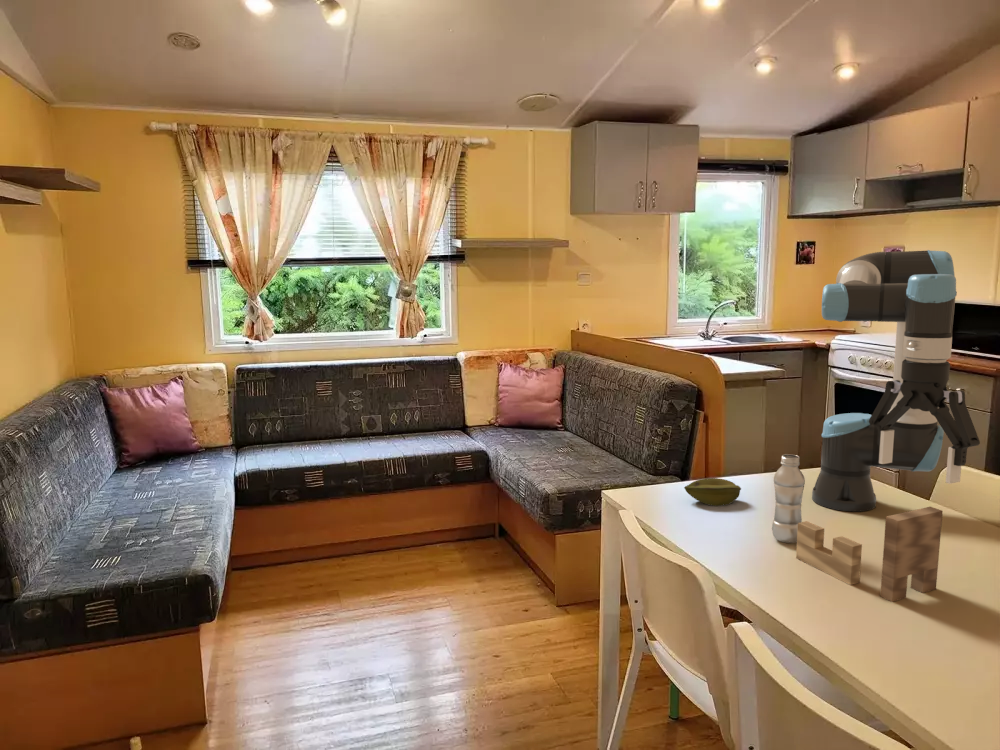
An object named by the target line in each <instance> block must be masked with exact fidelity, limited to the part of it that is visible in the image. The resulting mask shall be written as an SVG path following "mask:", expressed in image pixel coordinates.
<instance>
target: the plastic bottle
mask: <svg viewBox="0 0 1000 750" xmlns="http://www.w3.org/2000/svg"><path fill="white" fill-rule="evenodd" d="M780 458H781V460H780V465H781V466H780V467H779V468H778V469H777V471H776V472H775V473H774V476H773V485H774V494H775V495H774V496H775V497H774V498H775V506H774V507H775V508H774V516H773V520H772V523H771V524H772V526H771V531H772V536H773V537H774V539H775V540H777V541H778V542H781V543H782V542H783V543H786V544H787V543H788V544H795V543H796V544H797V530H798V523H800V522H803V520H802V519H803V518H802V501H803V495H804V488H805V485H806V484H805V483H806V479H805V476H804V474H803V472H802V471H801V469H800V468H799V466H800V464H801V463H800V456H799V455H797V454H796V455H795V454H792V453H791V454H788V453H785V454H782V455H781V457H780Z"/></svg>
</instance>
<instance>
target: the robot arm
mask: <svg viewBox="0 0 1000 750" xmlns="http://www.w3.org/2000/svg"><path fill="white" fill-rule="evenodd" d="M821 294H822V298H821V317H822V319H823V320H825V321H833V322H834V321H836V322H839V323H842V322H880V323H881V322H886V323H896V333H895V345H894V346H895V348H894V363H893V377H892V378H893V379H892V380H888V381H886V384H885V387H884V388H885V389H884V392H883V394H882V396H881V397H880V399H879V402H878V404H877V405H876V407H875V408H874V410H873V412H872V414H869V413H863V412H850V413H849V412H848V413H839V414H834V415H831V416H828V417H827V418H826V419H824V422H823V427H822V433H821V438H822V439H821V440H822V442H821V443H822V445H821V458H820V459H821V461H820V471H819V474H818V477H817V478H816V481H815V483H814V486H813V487H812V493H811V499H812V501H813V502H814V503H815V504H818V505H819V506H821V507H822V506H823V507H825V508H827V509H833V510H836V511H837V510H838V511H844V512H865V511H866V512H867V511H870V510H873V509H875V507H876V506H877V495H876V493H875V490H874V487H873V482H872V478H871V467H873V468H874V467H875V468H882V469H883V468H884V469H893V470H903V471H910V472H913V473H914V472H931V471H933V470H935V468H936V467H937V464H938V462H939V460H940V459H939V458H940V455H941V451H942V447H943V440H944V434H946V435H945V436H946V437H947V438H948V440H949V441H950V442H951V444H952V446H948V451H947V460H946V471H945V472H946V474H945V475H946V476H945V483H946V484H948V485H949V484H950V485H952V484H955V483H960V482H961V477H962V476H961V474H962V466H965V465H966V463H967V452H968V449H969V448H971V447H976V446H979V445H980V444H981V441H980V439H979V436H978V433H977V431H976V429H975V428H976V427H975V426H974V423H973V420H972V418H971V415H970V412H969V410H968V407H967V405H966V392H965V391H964V390H960V389H959V390H955V391H953V390H948V387H947V384H948V382H949V380H950V372H951V371H950V370H951V363H950V362H949V361H948V360H949V359H951V358H952V348H953V347H952V344H953V328H954V326H953V325H954V318H955V317H954V315H955V304H956V297H957V279H956V276H955V268H954V262H953V257H952V255H951V254H950V253H949V251H948V252H947V251H946V250H945V251H943V250H929V249H927V250H908V251H907V250H906V251H902V250H901V251H877V252H876V251H875V252H872V253H866V254H863V255H861V256H857V257H854V258H853V259H850V260H849V261H847V262H846V263H845V264H843V265H842V267H841V268H840V269H839V270H838V272H837V274H836V279H835V283H828V284H826V285H825V286H823V288H822V293H821ZM946 402H947V403H948V404H949V406H948V405H947V403H946ZM950 411H951V412H950ZM938 423H939V424H938Z"/></svg>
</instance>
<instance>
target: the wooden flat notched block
mask: <svg viewBox="0 0 1000 750" xmlns="http://www.w3.org/2000/svg"><path fill="white" fill-rule="evenodd" d="M942 521H943V509H939V508H936V507H933V506H927V507H922V508H919V509H913V510H908V511H903V512H899V513H896V514H892V515H888V516H885V525H884V539H883V541H884V542H883V551H882V552H883V553H882V554H883V555H882V556H883V557H882V566H881V567H882V569H881V581H880V582H881V583H880V595H879V596H880V597H881V598H883V599H885V600H888V601H889V602H891V603H892V602H896V601H900V600H902V599H906V598H907V589H908V578H909V577H908V576H911V578H910V588H911V589H913V590H915V591H917V592H920V593H921V594H924V593H928V592H931V591H935V590H936V589H937V582H938V581H937V580H938V572H939V570H938V569H939V560H940V559H939V556H940V549H941V547H940V544H941V532H942V523H943V522H942Z"/></svg>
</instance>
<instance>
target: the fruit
mask: <svg viewBox="0 0 1000 750" xmlns="http://www.w3.org/2000/svg"><path fill="white" fill-rule="evenodd" d="M683 488H684V490H685V492H686V493H687V494H688V495H689V496H691V498H693V499H694V500H696V501H698V502H700V503H702V504H705V505H708V506H712V507H723V506H724V507H725V506H728V505H730V504H732V503H734V502H735V501H736V500H737V499H738V498H739V497H740V495H741V490H742V488H741V486H740V485H736V484H735V482H733V481H730V480H727V479H723V478H717V477H706V478H702V479H701V478H700V479H696V480H695V481H693V482H690V483H688V484H687V485H685V486H684V487H683Z"/></svg>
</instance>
